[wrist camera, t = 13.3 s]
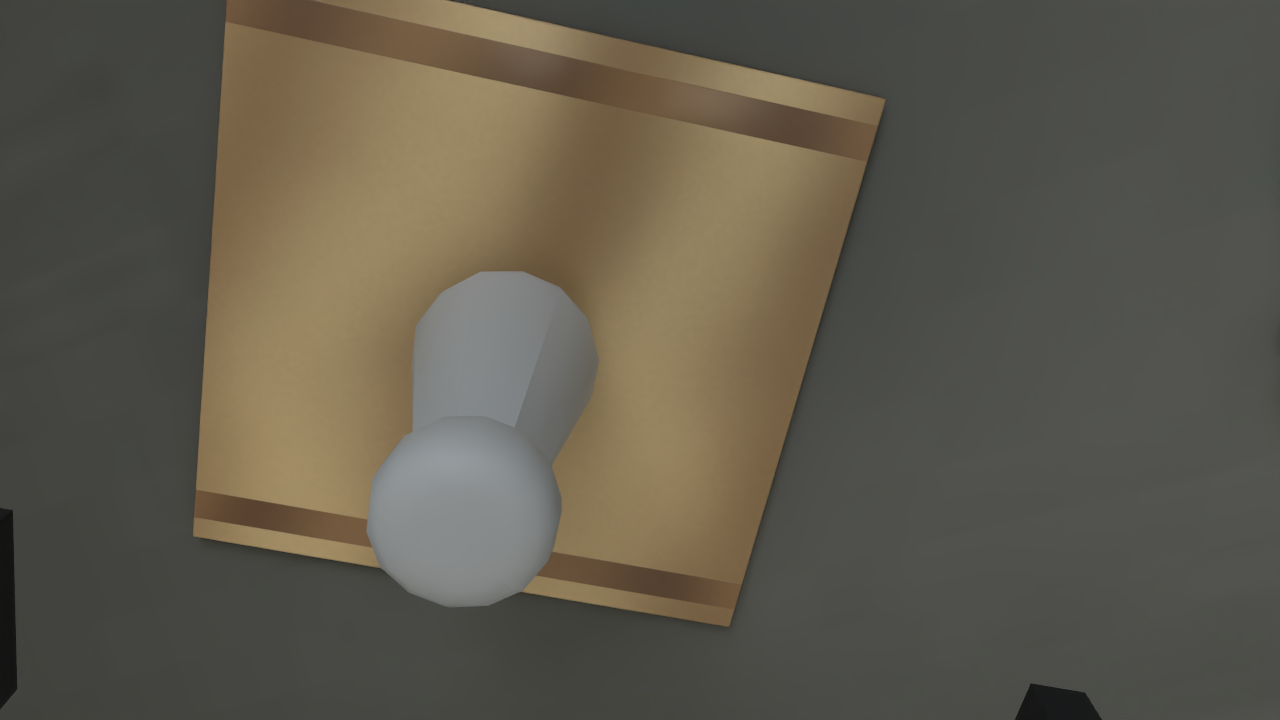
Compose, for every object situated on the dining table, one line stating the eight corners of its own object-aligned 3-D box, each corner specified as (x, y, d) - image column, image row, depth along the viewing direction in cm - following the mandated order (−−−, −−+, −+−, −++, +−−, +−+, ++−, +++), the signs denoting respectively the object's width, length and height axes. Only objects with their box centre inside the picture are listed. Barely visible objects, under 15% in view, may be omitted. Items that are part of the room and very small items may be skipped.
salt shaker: (433, 414, 34) (334, 656, 22) (417, 253, 32) (298, 424, 20) (602, 410, 35) (595, 649, 22) (597, 250, 32) (587, 417, 20)
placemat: (883, 97, 31) (886, 99, 31) (728, 621, 38) (729, 627, 38) (234, -49, 29) (229, -49, 29) (196, 530, 36) (192, 536, 36)
